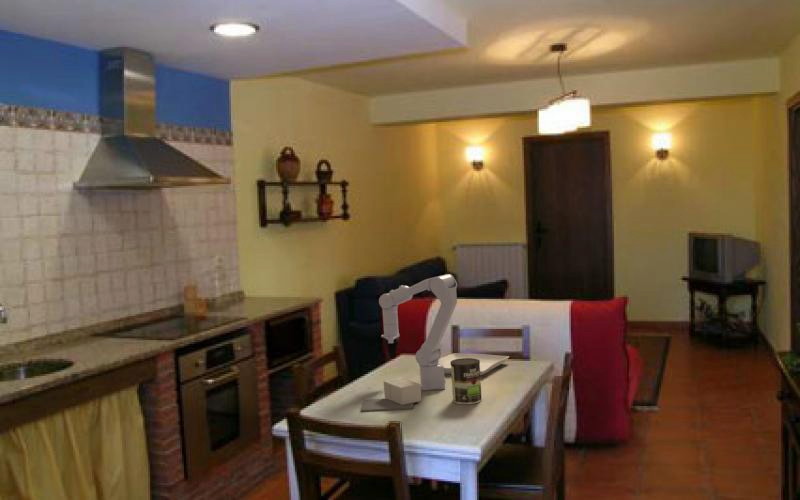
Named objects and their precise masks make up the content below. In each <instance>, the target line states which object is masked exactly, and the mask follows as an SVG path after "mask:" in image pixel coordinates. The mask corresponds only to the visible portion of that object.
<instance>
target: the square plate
mask: <svg viewBox="0 0 800 500" xmlns="http://www.w3.org/2000/svg"><path fill="white" fill-rule="evenodd" d="M462 358H473V359H478V360H480V376H482V375H486V374H487V373H488V372H490V371H491V370H493V369H495V368H497V367H499V366H501V365H502V364H504V363H505V362H506V361H508V359H509V358H510V356H509V355H508V356H507V355H495V354H485V353H483V354H481V353H455V352H454V353H450V354H449V355H446V356H444V357H440V359H439V363H438V364H444V375H452V374H451V364H450V362H451V361H452V360H455V359H462Z"/></svg>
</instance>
